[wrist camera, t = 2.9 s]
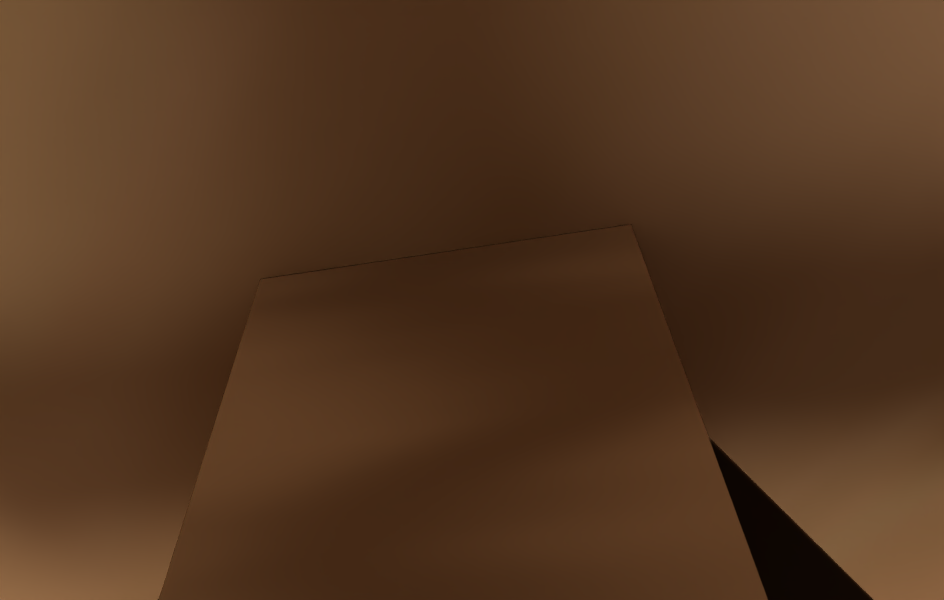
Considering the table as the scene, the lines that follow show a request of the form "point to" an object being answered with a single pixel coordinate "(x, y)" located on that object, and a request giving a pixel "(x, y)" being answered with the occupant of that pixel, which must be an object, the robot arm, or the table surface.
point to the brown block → (463, 439)
